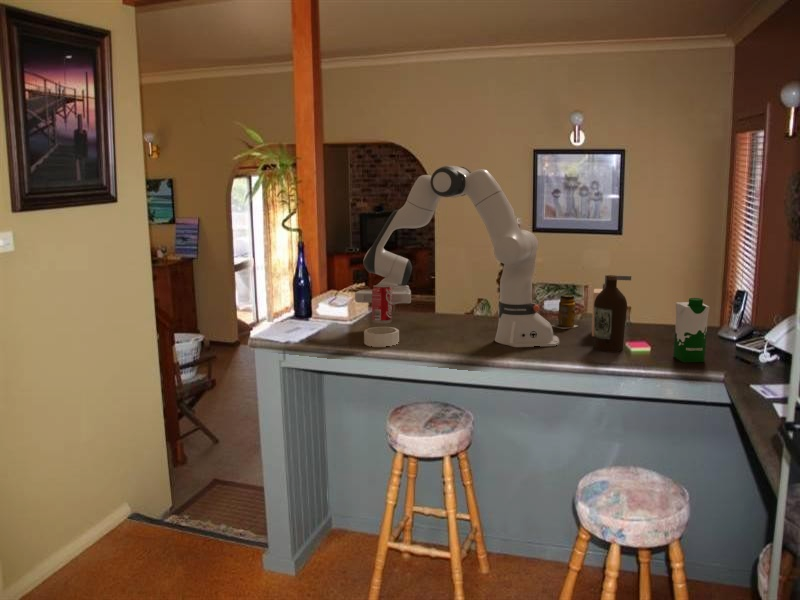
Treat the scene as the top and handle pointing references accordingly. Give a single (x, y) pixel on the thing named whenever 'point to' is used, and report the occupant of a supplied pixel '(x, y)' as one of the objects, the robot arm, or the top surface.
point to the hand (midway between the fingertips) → (380, 300)
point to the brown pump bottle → (609, 317)
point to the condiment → (566, 312)
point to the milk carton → (691, 330)
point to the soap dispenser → (597, 291)
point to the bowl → (381, 336)
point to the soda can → (382, 304)
